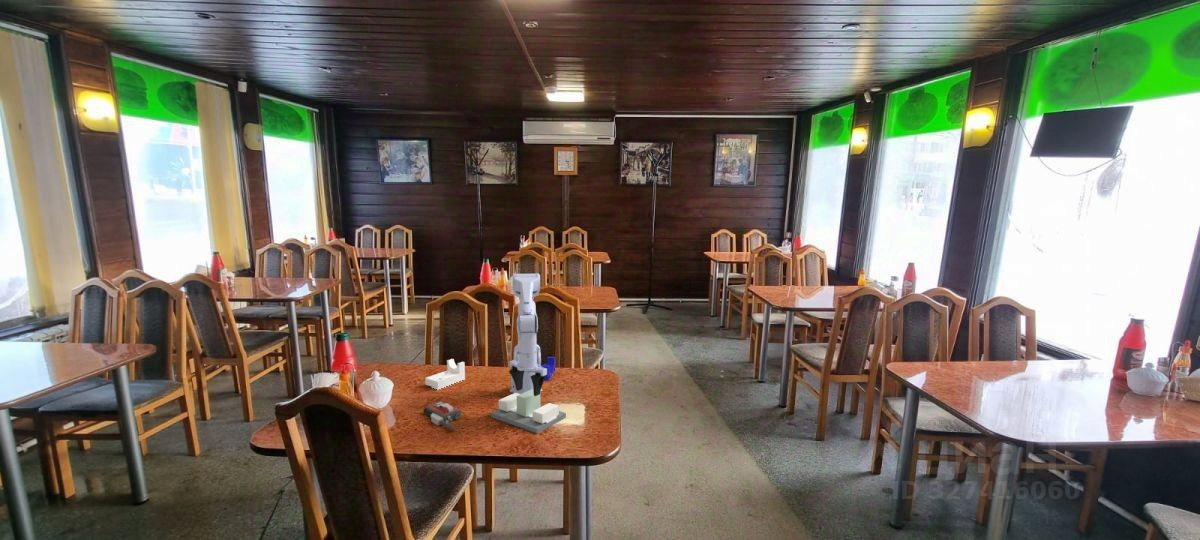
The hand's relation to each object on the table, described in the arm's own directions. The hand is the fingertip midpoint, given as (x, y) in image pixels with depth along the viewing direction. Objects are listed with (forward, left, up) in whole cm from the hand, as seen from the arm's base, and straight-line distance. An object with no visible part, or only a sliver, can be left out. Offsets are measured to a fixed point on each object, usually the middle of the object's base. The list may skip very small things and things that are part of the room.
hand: (528, 392), depth 162 cm
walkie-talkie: (-21, -16, -9) cm, 28 cm away
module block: (0, 0, -7) cm, 7 cm away
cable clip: (-21, +33, -9) cm, 40 cm away
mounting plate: (0, 0, -9) cm, 9 cm away
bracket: (-47, +4, -9) cm, 48 cm away
